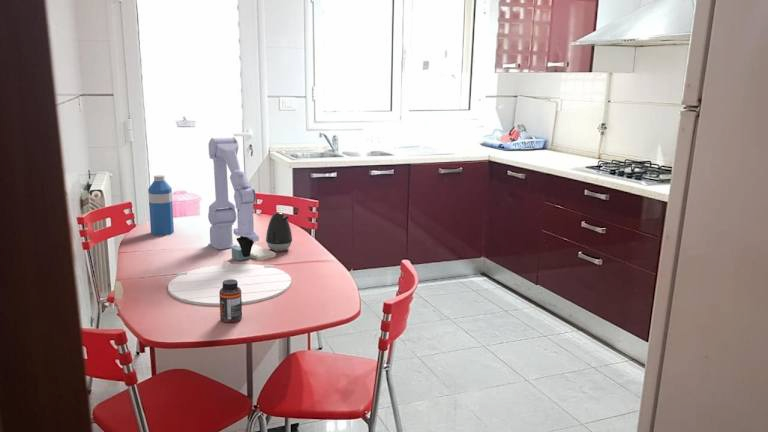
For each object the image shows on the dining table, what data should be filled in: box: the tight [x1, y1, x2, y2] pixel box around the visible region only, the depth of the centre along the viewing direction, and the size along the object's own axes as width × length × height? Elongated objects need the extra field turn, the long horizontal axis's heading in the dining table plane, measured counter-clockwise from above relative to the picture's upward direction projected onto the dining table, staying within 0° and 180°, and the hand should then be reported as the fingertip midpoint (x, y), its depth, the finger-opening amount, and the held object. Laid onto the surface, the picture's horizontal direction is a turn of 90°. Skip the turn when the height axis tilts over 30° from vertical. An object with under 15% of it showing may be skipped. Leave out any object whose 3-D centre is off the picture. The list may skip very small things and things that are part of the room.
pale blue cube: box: [231, 245, 252, 261], centre depth 225 cm, size 5×5×4 cm
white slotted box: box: [250, 244, 277, 261], centre depth 232 cm, size 15×8×2 cm, turn 43°
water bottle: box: [147, 174, 175, 237], centre depth 257 cm, size 9×9×25 cm
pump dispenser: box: [265, 211, 293, 252], centre depth 237 cm, size 10×10×15 cm
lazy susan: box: [167, 260, 292, 307], centre depth 198 cm, size 40×39×3 cm
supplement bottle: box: [219, 279, 243, 324], centre depth 168 cm, size 6×6×11 cm
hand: (246, 256), depth 223 cm, fingers closed
